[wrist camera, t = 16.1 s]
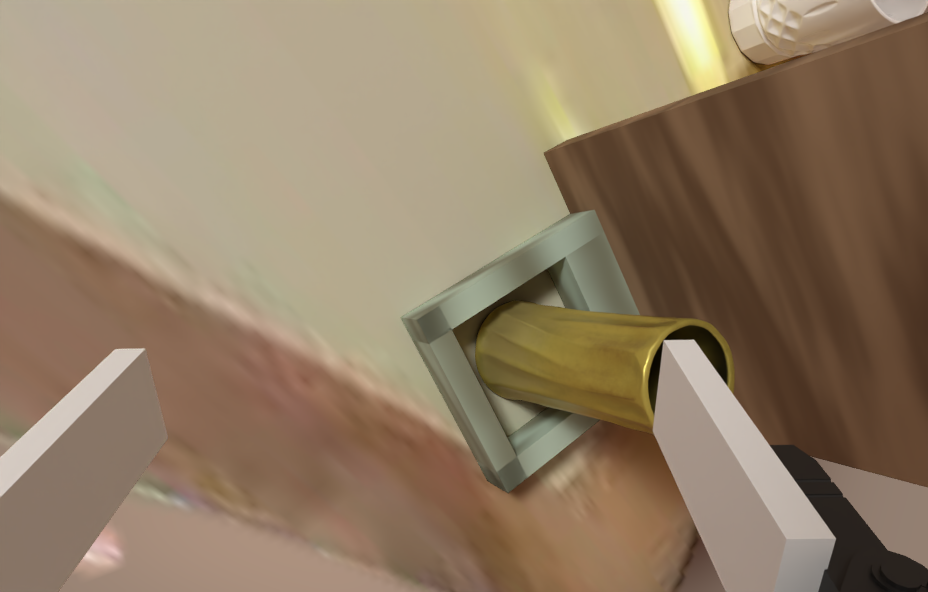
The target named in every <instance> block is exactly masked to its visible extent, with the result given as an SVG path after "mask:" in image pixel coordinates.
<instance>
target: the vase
mask: <svg viewBox="0 0 928 592" xmlns="http://www.w3.org/2000/svg"><path fill="white" fill-rule="evenodd" d="M664 340H695V342H696V343H697V345H698V346H699V347H700V349H701V350H702V352H703V353H704V354H705V356H706V357H707V359H708V360H709V361H710V363H711V364H712V366H713V367H714V368H715V370H716V371H717V373H718V374H719V375H720V377H721V378H722V380H723V381H724V382H725V384H726V385H727V387H728V388H729V389H730V391H731V392H732V394H733V393H734V383H735V369H734V362H733V357H732V352H731V350H730V347H729V345H728V343H727V341H726V340H725V338H724V337H723V336H722V335H721V334H720V332H719V331H718V330H717V329H716V328H715V327H714V326H713V325H712V324H710V323H708V322H706V321H703V320H699V319H693V318H674V317H657V316H645V315H630V314H616V313H607V312H593V311H583V310H575V309H568V308H561V307H554V306H544V305H539V304H536V303H532V302H526V301H516V300H515V301H511V302H508V303H505V304H503V305H501V306H499V307H497V308H496V309H495V310H494V311H492V312H491V313H490V314H489V315H488V317H487V318H486V319H485V321H484V322H483V324H482V326H481V327H480V330H479V332H478V336H477V340H476V349H475V360H476V365H477V369H478V372H479V374H480V376H481V378H482V380H483V382H484V383H485V384H486V385H487V386H488V388H489V389H491V390H492V391H493V392H494V393H496V394H497V395H499V396H501V397H504V398H507V399H512V400H523V401H528V402H532V403H536V404H539V405H543V406H546V407H550V408H555V409H559V410H563V411H568V412H572V413H576V414H580V415H584V416H588V417H592V418H596V419H600V420H604V421H608V422H611V423H614V424H617V425H620V426H623V427H626V428H630V429H633V430H638V431H642V432H646V433H650V434H652V435H654V433H653V423H654V415H655V407H656V398H657V390H658V382H659V374H660V365H661V357H662V349H663V341H664Z"/></svg>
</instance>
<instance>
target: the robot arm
mask: <svg viewBox="0 0 928 592" xmlns="http://www.w3.org/2000/svg"><path fill="white" fill-rule="evenodd" d="M653 433H654V435H655V437H656V440H657V442H658V444H659V446H660V448H661V451H662V453H663V455H664V457H665V459H666V462H667V464H668V466H669V468H670V470H671V473H672V475H673V477H674V479H675V481H676V484H677V486H678V488H679V490H680V492H681V495H682V497H683V499H684V501H685V503H686V506H687V508H688V510H689V512H690V514H691V517H692V519H693V521H694V523H695V525H696V528H697V530H698V532H699V534H700V536H701V539H702V541H703V543H704V545H705V547H706V550H707V552H708V554H709V556H710V558H711V561H712V563H713V565H714V567H715V569H716V571H717V574H718V576H719V578H720V580H721V583H722V584H723V587H724V589H725V591H726V592H928V569H927V568H925V567H924V566H923V565H921V564H919V563H917V562H916V561H914V560H912V559H910V558H908V557H906V556H903V555H900V554H897V553H894V552H891V551H888V550H887V549H886V548H885V546H884V545H883V544H882V543H881V541H880V540H879V539H878V538H877V536H876V535H875V534H874V533H873V531H872V530H871V529H870V528H869V526H868V525H867V524H866V523H865V521H864V520H863V519H862V518H861V516H860V515H859V514H858V512H857V511H856V510H855V509H854V508H853V506H852V505H851V504H850V502H849V501H848V500H847V499H846V498H843V494H842V492H841V491H840V490H839V489H838V487H837V486H836V485H835V484H834V483H833V482H831V479H830V477H829V476H828V475H827V473H825V471H824V470H823V469H822V467H821V466H820V465H819V464H818V462H817V461H816V460H815V459H813V458H812V457H810V456H809V455H808V454H806V453H805V452H803V451H802V450H800V449H799V448H798V447H796V446H795V445H769V444H768V442H767V441H766V440H765V438H764V437H763V436H762V434H761V433H760V431H759V430H758V429H757V427H756V426H755V424H754V423H753V422H752V420H751V419H750V417H749V416H748V415H747V413H746V412H745V410H744V409H743V408H742V406H741V405H740V403H739V402H738V401H737V399H736V398H735V396H734V395H733V394H732V392H731V391H730V389H729V388H728V387H727V385H726V384H725V382H724V381H723V380H722V378H721V377H720V375H719V374H718V373H717V371H716V370H715V368H714V367H713V366H712V364H711V363H710V361H709V360H708V359H707V357H706V356H705V354H704V353H703V352H702V350H701V349H700V347H699V346H698V345H697V343H696V342H695V340H664V341H663V349H662V357H661V365H660V374H659V382H658V390H657V398H656V407H655V415H654V423H653ZM167 439H168V436H167V432H166V428H165V424H164V420H163V416H162V412H161V408H160V404H159V400H158V396H157V392H156V388H155V384H154V381H153V377H152V373H151V369H150V365H149V361H148V357H147V353H146V349H115V350H114V351H113V352H112V353H111V354H110V355H109V356H108V357H107V358H105V359H104V360H103V361H102V362H101V363H100V364H99V365H98V366H97V367H96V368H95V369H94V370H93V371H92V372H91V373H89V374H88V375H87V376H86V377H85V378H84V379H83V380H82V381H81V382H80V383H79V384H78V385H77V386H76V387H75V388H74V389H72V390H71V391H70V392H69V393H68V394H67V395H66V396H65V397H64V398H63V399H62V400H61V401H60V402H59V403H58V404H57V405H55V406H54V407H53V408H52V409H51V410H50V411H49V412H48V413H47V414H46V415H45V416H44V417H43V418H42V419H41V420H39V421H38V422H37V423H36V424H35V425H34V426H33V427H32V428H31V429H30V430H29V431H28V432H27V433H26V434H25V435H24V436H22V437H21V438H20V439H19V440H18V441H17V442H16V443H15V444H14V445H13V446H12V447H11V448H10V449H9V450H8V451H6V452H5V453H4V454H3V455H2V456H1V457H0V592H59V591H60V589H61V588H62V586H63V585H64V584H65V582H66V581H67V579H68V578H69V577H70V575H71V574H72V572H73V571H74V570H75V568H76V567H77V565H78V564H79V563H80V561H81V560H82V558H83V557H84V555H85V554H86V553H87V551H88V550H89V548H90V547H91V546H92V544H93V543H94V541H95V540H96V539H97V537H98V536H99V534H100V533H101V532H102V530H103V529H104V527H105V526H106V525H107V523H108V522H109V520H110V519H111V518H112V516H113V515H114V513H115V512H116V511H117V509H118V508H119V506H120V505H121V504H122V502H123V501H124V499H125V498H126V497H127V495H128V494H129V492H130V491H131V489H132V488H133V487H134V485H135V484H136V482H137V481H138V480H139V478H140V477H141V475H142V474H143V473H144V471H145V470H146V468H147V467H148V466H149V464H150V463H151V461H152V460H153V459H154V457H155V456H156V454H157V453H158V452H159V450H160V449H161V447H162V446H163V445H164V443H165V442H166V440H167Z"/></svg>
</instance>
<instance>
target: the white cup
mask: <svg viewBox="0 0 928 592" xmlns="http://www.w3.org/2000/svg"><path fill="white" fill-rule="evenodd" d="M927 6H928V0H730V6H729V20H730V26H731V32H732V35H733V37H734V39H735V41H736V43H737V45H738V47H739V48H740V50H741V52H743V53H744V54H745V55H746V56H747V57H748V58H749V59H751V60H752V61H753V62H755V63H761V64H766V65H770V64H773V63H776V62H779V61H783V60H786V59H789V58H792V57H795V56H798V55H805V54H810V53H814V52H817V51H820V50H823V49H826V48H828V47H831V46H834V45H837V44H840V43H843V42H845V41H848V40H851V39H854V38H857V37H859V36H862V35H865V34H868V33H871V32H874V31H876V30H879V29H882V28H885V27H888V26H891V25H893V24H896V23H899V22H902V21H905V20H907V19H910V18H913V17H916V16H919V15H922V14H923V13H924V11H925V10H926V8H927Z"/></svg>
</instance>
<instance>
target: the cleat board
mask: <svg viewBox="0 0 928 592" xmlns="http://www.w3.org/2000/svg"><path fill="white" fill-rule="evenodd" d="M544 155H545V157H546V160H547V162H548V164H549V166H550V169H551V171H552V173H553V175H554V178H555V180H556V182H557V184H558V187H559V189H560V191H561V193H562V196H563V198H564V200H565V202H566V205H567V207H568V209H569V212H570V215H568V216H566V217H565V218H563V219H561V220H560V221H558V222H556V223H555V224H553V225H551V226H550V227H548V228H547V229H545V230H543V231H542V232H540V233H538V234H537V235H535V236H533V237H532V238H530V239H529V240H527V241H525V242H524V243H522V244H520V245H519V246H517V247H515V248H514V249H512V250H511V251H509V252H507V253H506V254H504V255H502V256H501V257H499V258H497V259H496V260H494V261H493V262H491V263H489V264H488V265H486V266H484V267H483V268H481V269H479V270H478V271H476V272H474V273H473V274H471V275H470V276H468V277H466V278H465V279H463V280H461V281H460V282H458V283H456V284H455V285H453V286H452V287H450V288H448V289H447V290H445V291H443V292H442V293H440V294H438V295H437V296H435V297H434V298H432V299H430V300H429V301H427V302H425V303H424V304H422V305H420V306H419V307H417V308H415V309H414V310H412V311H411V312H409V313H407V314H406V315H404V316H402V317H401V319H402V321H403V323H404V325H405V327H406V329H407V331H408V332H409V334H410V336H411V338H412V340H413V342H414V344H415V346H416V347H417V349H418V351H419V353H420V355H421V357H422V359H423V361H424V362H425V364H426V366H427V368H428V370H429V372H430V374H431V376H432V378H433V379H434V381H435V383H436V385H437V387H438V389H439V391H440V393H441V394H442V396H443V398H444V400H445V402H446V404H447V406H448V408H449V409H450V411H451V413H452V415H453V417H454V419H455V421H456V423H457V424H458V426H459V428H460V430H461V432H462V434H463V436H464V438H465V440H466V441H467V443H468V445H469V447H470V449H471V451H472V453H473V455H474V456H475V458H476V460H477V462H478V464H479V466H480V468H481V470H482V471H483V473H484V475H485V477H486V479H487V481H488V482H490V483H492V484H493V485H495V486H497V487H498V488H500V489H502V490H503V491H505V492H507V493H509V492H510V491H511V490H513V489H514V488H515V487H516V486H518V485H519V484H520V483H521V482H523V481H524V480H525V479H526V478H528V477H529V476H530V475H532V474H533V473H534V472H535V471H537V470H538V469H539V468H540V467H542V466H543V465H544V464H545V463H547V462H548V461H549V460H550V459H552V458H553V457H554V456H555V455H557V454H558V453H559V452H560V451H562V450H563V449H564V448H565V447H567V446H568V445H569V444H570V443H572V442H573V441H574V440H575V439H577V438H578V437H579V436H581V435H582V434H583V433H584V432H586V431H587V430H588V429H589V428H591V427H592V426H593V425H594V424H596V423H597V422H598V421H599V420H600V419H596V418H592V417H588V416H584V415H580V414H576V413H572V412H568V411H563V410H559V409H555V408H550V407H548V408H546V409H545V410H544V411H542V412H541V413H540V414H538V415H537V416H536V417H535V418H533V419H532V420H531V421H529V422H528V423H527V424H525V425H524V426H523V427H521V428H520V429H519V430H517V431H516V432H515V433H513V434H512V435H511V436H509V437H508V438H507V436H506V434H505V433H504V431H503V429H502V427H501V425H500V423H499V421H498V419H497V417H496V415H495V413H494V411H493V409H492V407H491V405H490V403H489V401H488V399H487V397H486V396H485V394H484V392H483V390H482V388H481V386H480V384H479V382H478V380H477V378H476V376H475V374H474V372H473V370H472V368H471V366H470V364H469V362H468V360H467V359H466V357H465V355H464V353H463V351H462V349H461V347H460V345H459V343H458V341H457V339H456V337H455V335H454V333H453V331H452V329H454V328H455V327H457V326H458V325H460V324H461V323H463V322H464V321H466V320H468V319H469V318H471V317H472V316H474V315H475V314H477V313H478V312H480V311H482V310H483V309H485V308H486V307H488V306H489V305H491V304H492V303H494V302H496V301H497V300H499V299H500V298H502V297H503V296H505V295H506V294H508V293H510V292H511V291H513V290H514V289H516V288H517V287H519V286H521V285H522V284H524V283H525V282H527V281H528V280H530V279H531V278H533V277H535V276H536V275H538V274H539V273H541V272H542V271H544V270H545V269H548V271H549V273H550V275H551V277H552V280H553V282H554V284H555V286H556V288H557V290H558V293H559V295H560V297H561V299H562V301H563V303H564V306H565V308H568V309H575V310H583V311H593V312H607V313H616V314H630V315H645V316H657V317H674V318H693V319H699V320H703V321H706V322H708V323H710V324H712V325H713V326H714V327H715V328H716V329H717V330H718V331H719V332H720V334H721V335H722V336H723V337H724V338H725V340H726V341H727V343H728V345H729V347H730V350H731V352H732V357H733V362H734V369H735V383H734V393H733V395H734V396H735V398H736V399H737V401H738V402H739V403H740V405H741V406H742V408H743V409H744V410H745V412H746V413H747V415H748V416H749V417H750V419H751V420H752V422H753V423H754V424H755V426H756V427H757V429H758V430H759V431H760V433H761V434H762V436H763V437H764V438H765V440H766V441H767V442H768V444H769V445H795V446H796V447H798V448H799V449H800V450H802V451H803V452H805V453H806V454H808V455H809V456H812V457H816V458H819V459H823V460H827V461H830V462H834V463H838V464H842V465H845V466H849V467H853V468H857V469H861V470H864V471H868V472H872V473H875V474H879V475H883V476H887V477H891V478H894V479H898V480H902V481H906V482H909V483H913V484H917V485H921V486H925V487H928V12H927V13H924V14H922V15H919V16H916V17H913V18H910V19H907V20H905V21H902V22H899V23H896V24H893V25H891V26H888V27H885V28H882V29H879V30H876V31H874V32H871V33H868V34H865V35H862V36H859V37H857V38H854V39H851V40H848V41H845V42H843V43H840V44H837V45H834V46H831V47H828V48H826V49H823V50H820V51H817V52H814V53H812V54H809V55H806V56H803V57H800V58H797V59H795V60H792V61H789V62H786V63H783V64H781V65H778V66H775V67H772V68H769V69H766V70H764V71H761V72H758V73H755V74H752V75H750V76H747V77H744V78H741V79H738V80H735V81H733V82H730V83H727V84H724V85H721V86H718V87H716V88H713V89H710V90H707V91H704V92H702V93H699V94H696V95H693V96H690V97H687V98H685V99H682V100H679V101H676V102H673V103H671V104H668V105H665V106H662V107H659V108H656V109H654V110H651V111H648V112H645V113H642V114H640V115H637V116H634V117H631V118H628V119H625V120H623V121H620V122H617V123H614V124H611V125H609V126H606V127H603V128H600V129H597V130H594V131H592V132H589V133H586V134H583V135H580V136H577V137H575V138H572V139H569V140H566V141H565V142H563V143H561V144H559V145H557V146H555V147H554V148H552V149H550V150H548V151H546V152H545V153H544Z"/></svg>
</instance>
